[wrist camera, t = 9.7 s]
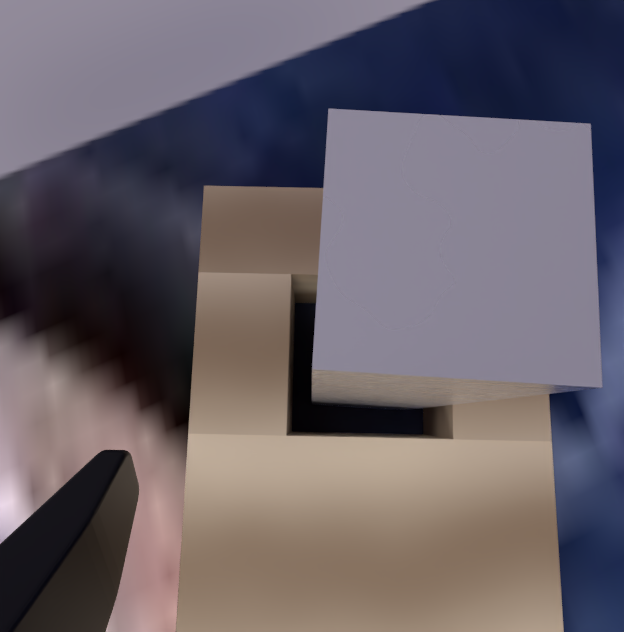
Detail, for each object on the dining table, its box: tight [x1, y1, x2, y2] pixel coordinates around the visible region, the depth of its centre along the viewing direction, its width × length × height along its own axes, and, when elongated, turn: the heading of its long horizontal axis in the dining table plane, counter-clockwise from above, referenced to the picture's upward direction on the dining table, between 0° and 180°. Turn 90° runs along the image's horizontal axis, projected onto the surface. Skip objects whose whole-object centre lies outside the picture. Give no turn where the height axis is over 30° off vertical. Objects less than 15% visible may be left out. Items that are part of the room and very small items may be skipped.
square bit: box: [312, 109, 602, 410], centre depth 12 cm, size 3×3×13 cm
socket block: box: [176, 186, 564, 632], centre depth 16 cm, size 20×10×4 cm, turn 179°
